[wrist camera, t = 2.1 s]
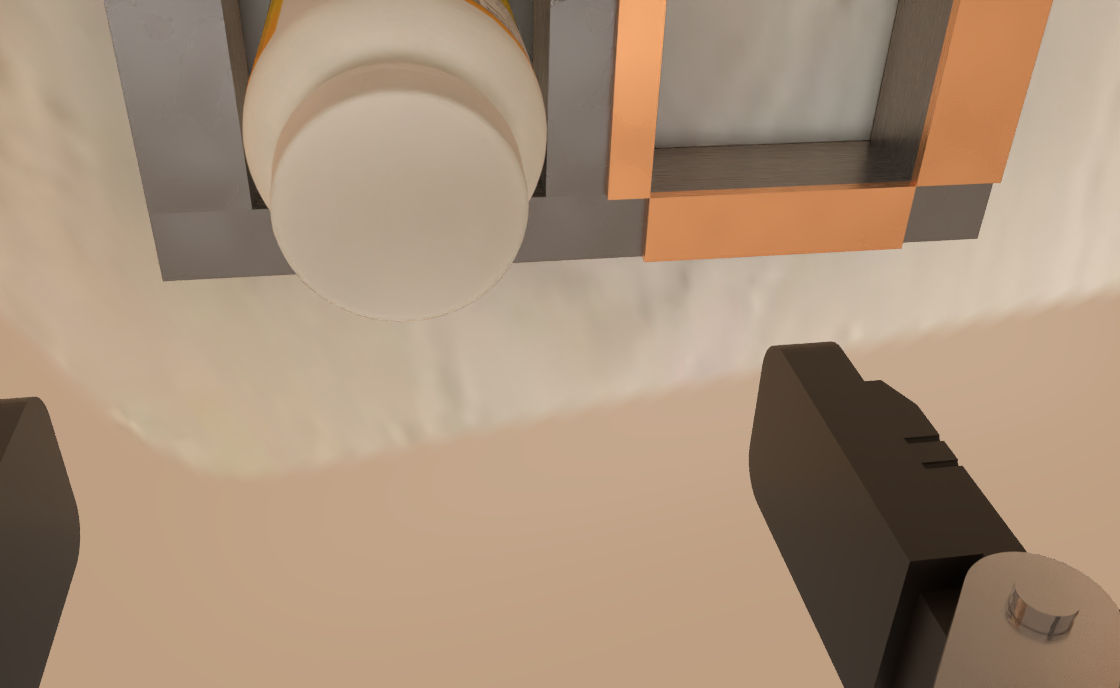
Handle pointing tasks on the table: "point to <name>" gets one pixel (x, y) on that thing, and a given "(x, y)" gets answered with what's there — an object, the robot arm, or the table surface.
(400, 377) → the table surface
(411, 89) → the supplement bottle
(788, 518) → the robot arm
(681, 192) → the tray
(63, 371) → the table surface
